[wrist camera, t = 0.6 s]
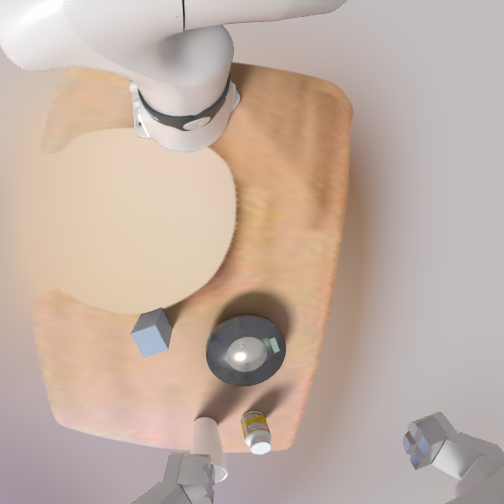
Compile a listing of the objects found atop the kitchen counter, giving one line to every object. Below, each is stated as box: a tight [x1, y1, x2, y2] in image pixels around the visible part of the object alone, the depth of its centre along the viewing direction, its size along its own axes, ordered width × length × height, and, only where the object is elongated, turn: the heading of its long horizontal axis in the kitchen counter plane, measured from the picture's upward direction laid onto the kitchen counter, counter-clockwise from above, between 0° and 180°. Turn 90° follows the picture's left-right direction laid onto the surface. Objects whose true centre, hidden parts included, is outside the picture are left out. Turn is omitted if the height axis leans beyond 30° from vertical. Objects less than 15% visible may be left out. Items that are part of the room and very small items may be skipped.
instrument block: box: [131, 308, 172, 357], centre depth 43 cm, size 4×4×8 cm
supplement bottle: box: [241, 411, 271, 454], centre depth 49 cm, size 5×5×10 cm
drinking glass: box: [190, 417, 228, 483], centre depth 45 cm, size 7×7×15 cm
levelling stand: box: [206, 314, 286, 386], centre depth 48 cm, size 14×14×5 cm
